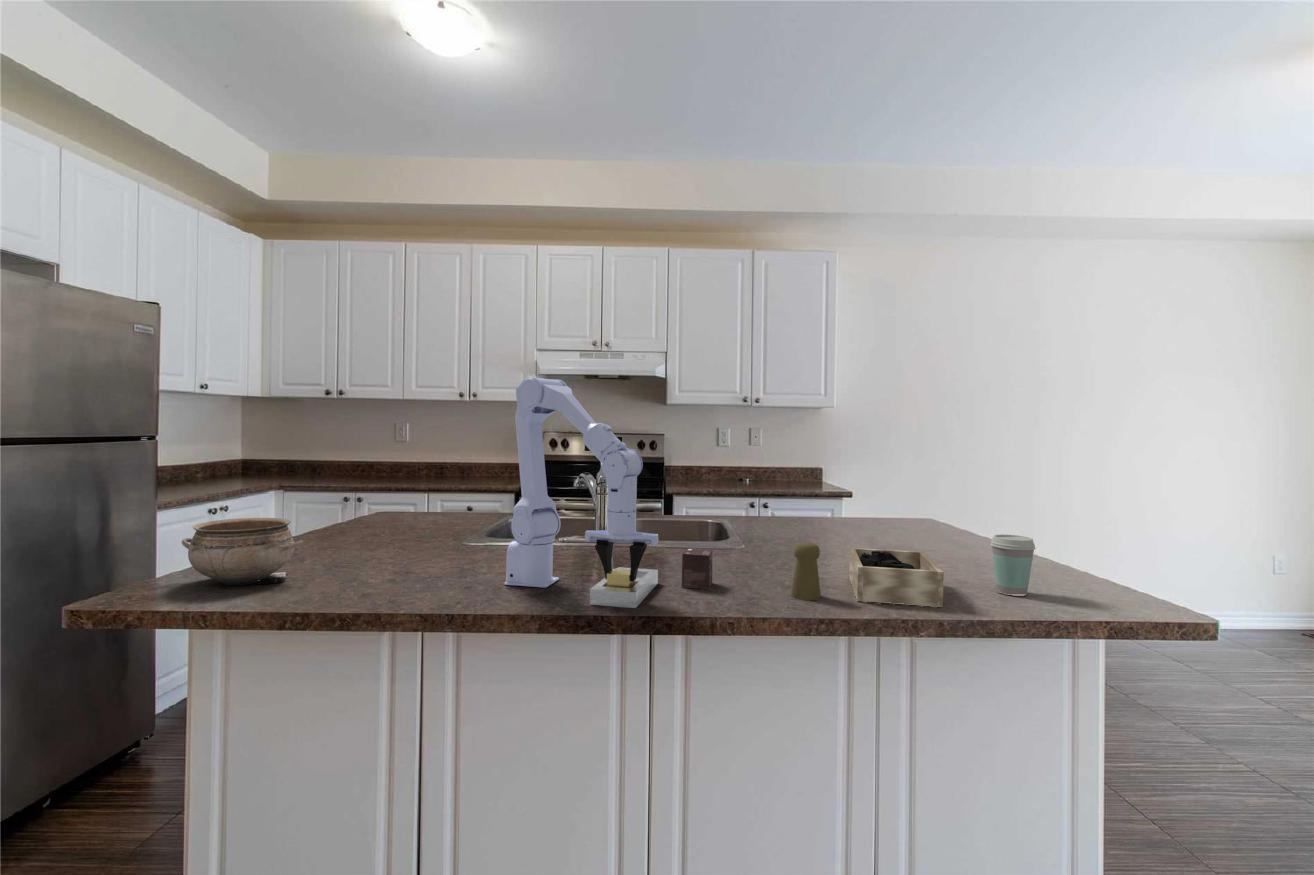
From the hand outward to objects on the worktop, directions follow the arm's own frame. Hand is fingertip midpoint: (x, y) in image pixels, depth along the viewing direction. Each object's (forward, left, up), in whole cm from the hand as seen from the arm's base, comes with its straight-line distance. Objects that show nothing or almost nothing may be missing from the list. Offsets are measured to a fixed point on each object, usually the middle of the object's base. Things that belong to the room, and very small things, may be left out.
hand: (620, 579), depth 131 cm
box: (+13, +16, -4) cm, 21 cm away
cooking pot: (-80, -8, -4) cm, 81 cm away
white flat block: (0, +5, -4) cm, 6 cm away
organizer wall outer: (+61, +22, -4) cm, 65 cm away
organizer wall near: (+54, +12, -4) cm, 55 cm away
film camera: (+54, +20, -4) cm, 57 cm away
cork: (+36, +13, -4) cm, 38 cm away
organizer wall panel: (+46, +22, -4) cm, 51 cm away
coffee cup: (+79, +28, -4) cm, 84 cm away
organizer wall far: (+54, +32, -4) cm, 63 cm away
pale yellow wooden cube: (0, 0, -3) cm, 3 cm away
